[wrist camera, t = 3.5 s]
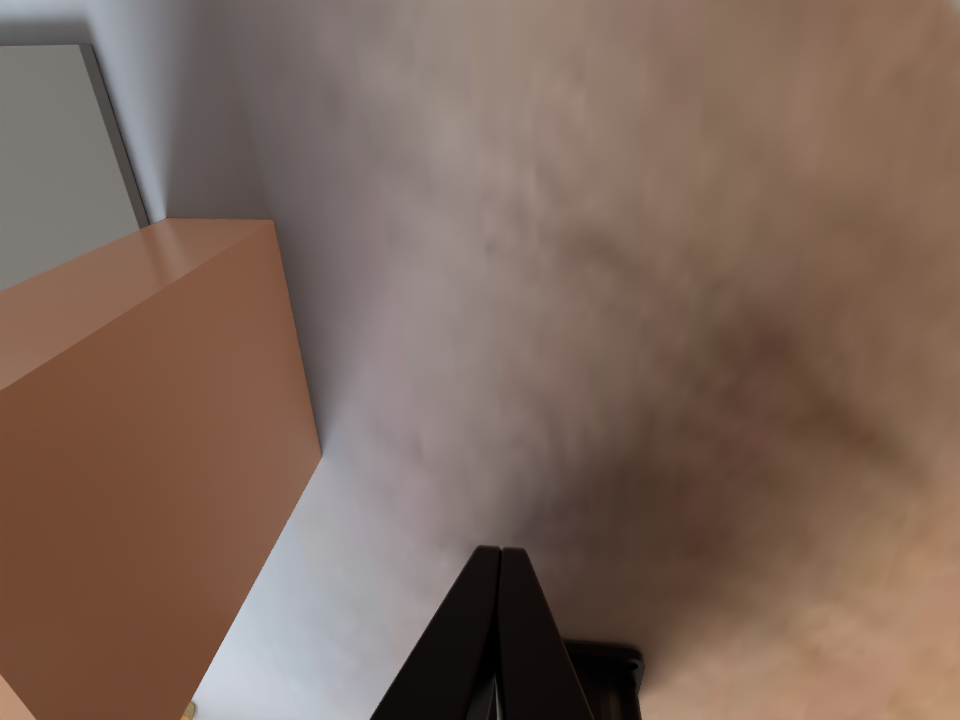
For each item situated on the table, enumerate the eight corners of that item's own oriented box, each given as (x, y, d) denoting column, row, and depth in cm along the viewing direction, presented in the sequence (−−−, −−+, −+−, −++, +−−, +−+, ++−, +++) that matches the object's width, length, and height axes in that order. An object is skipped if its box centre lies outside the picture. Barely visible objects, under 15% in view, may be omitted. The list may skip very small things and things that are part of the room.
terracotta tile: (273, 219, 14) (-151, 484, 5) (322, 456, 18) (122, 827, 9) (165, 217, 14) (-399, 468, 6) (237, 452, 18) (-34, 808, 10)
